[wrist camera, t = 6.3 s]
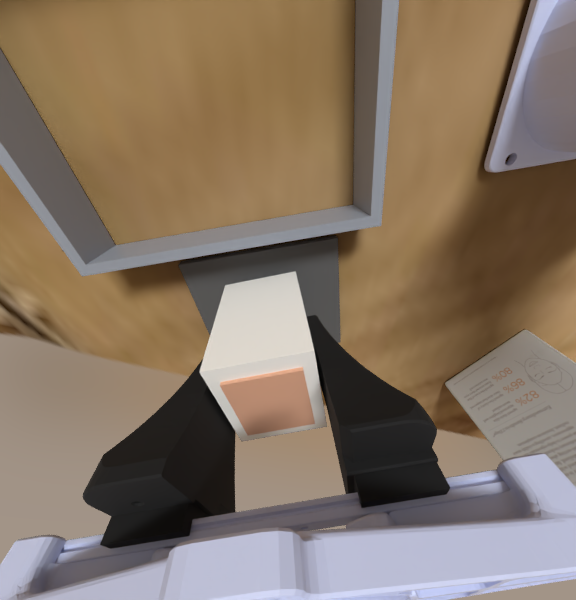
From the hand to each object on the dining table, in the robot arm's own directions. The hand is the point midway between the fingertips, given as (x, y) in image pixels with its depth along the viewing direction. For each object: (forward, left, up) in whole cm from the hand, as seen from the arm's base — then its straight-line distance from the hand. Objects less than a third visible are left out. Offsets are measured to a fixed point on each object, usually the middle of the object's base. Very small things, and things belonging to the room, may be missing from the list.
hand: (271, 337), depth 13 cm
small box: (-19, +11, -3) cm, 22 cm away
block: (0, 0, -2) cm, 2 cm away
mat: (0, 0, -3) cm, 3 cm away
